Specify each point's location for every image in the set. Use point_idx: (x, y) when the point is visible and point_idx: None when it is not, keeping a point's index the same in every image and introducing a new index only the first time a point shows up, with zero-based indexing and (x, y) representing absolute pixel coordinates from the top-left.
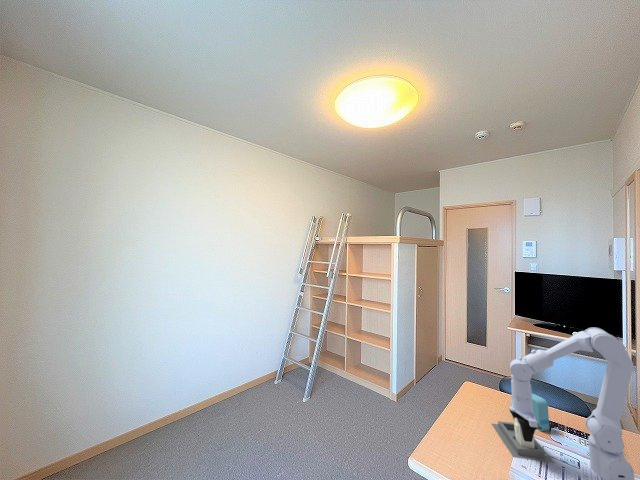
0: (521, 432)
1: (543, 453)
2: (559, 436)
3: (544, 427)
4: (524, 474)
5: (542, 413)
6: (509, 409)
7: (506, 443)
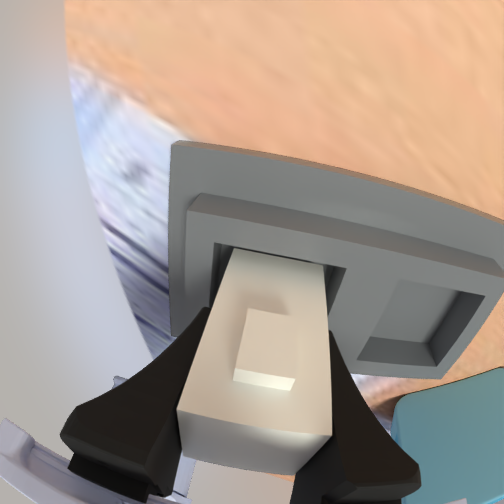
0: (203, 342)
1: None
2: None
3: (393, 428)
4: (80, 144)
5: None
6: (410, 484)
7: (326, 188)
